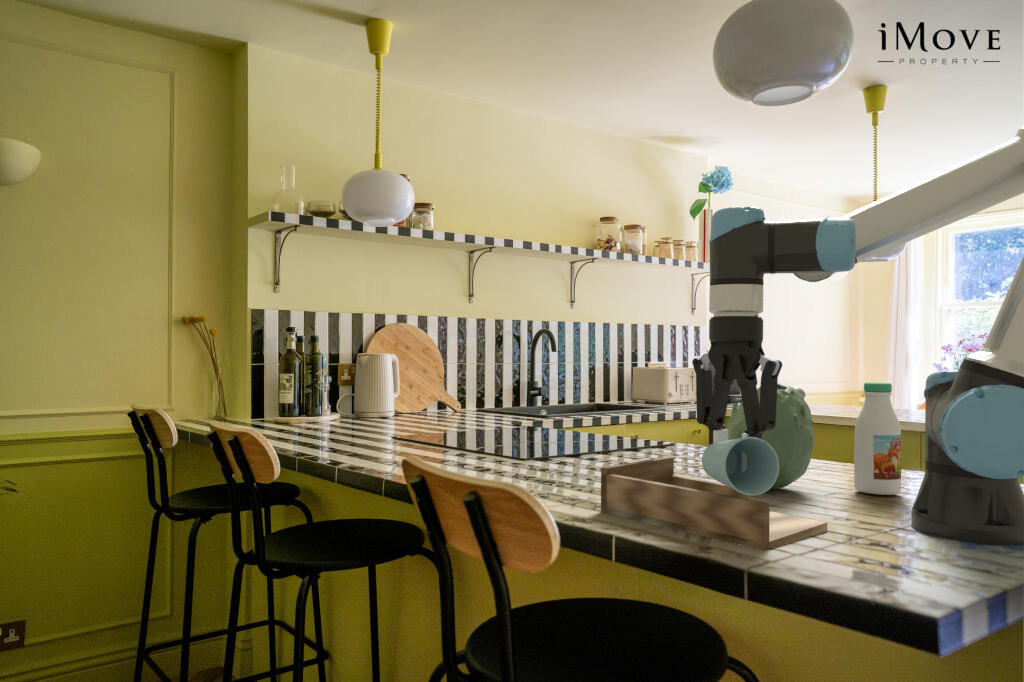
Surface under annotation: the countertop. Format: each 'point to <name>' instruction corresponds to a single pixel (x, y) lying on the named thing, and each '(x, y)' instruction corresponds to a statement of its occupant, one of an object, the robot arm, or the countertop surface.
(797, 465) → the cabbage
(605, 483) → the rail board
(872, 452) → the milk bottle
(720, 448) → the cup
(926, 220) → the robot arm
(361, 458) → the countertop surface
